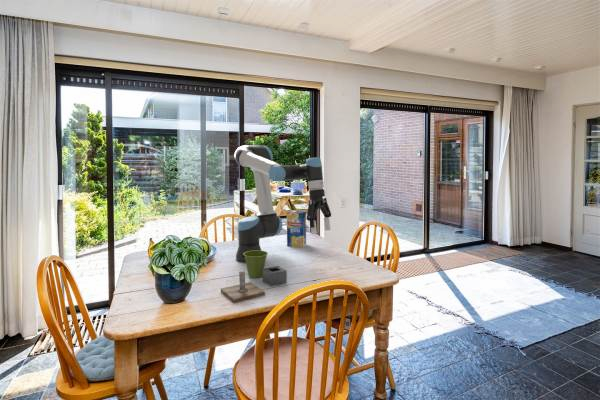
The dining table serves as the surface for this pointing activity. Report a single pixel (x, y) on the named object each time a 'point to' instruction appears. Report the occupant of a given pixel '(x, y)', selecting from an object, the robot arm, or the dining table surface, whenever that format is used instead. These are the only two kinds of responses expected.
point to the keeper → (242, 290)
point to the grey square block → (274, 276)
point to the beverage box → (296, 228)
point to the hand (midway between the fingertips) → (321, 232)
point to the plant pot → (255, 262)
